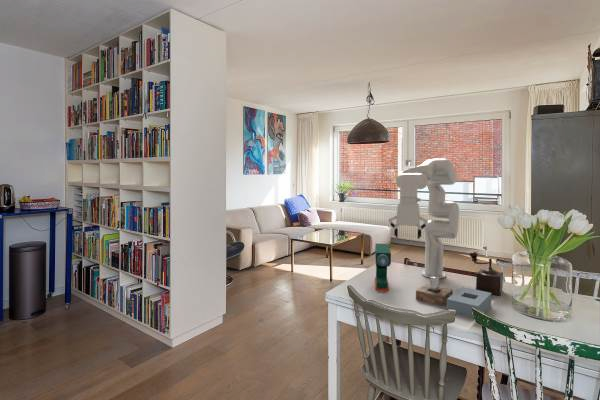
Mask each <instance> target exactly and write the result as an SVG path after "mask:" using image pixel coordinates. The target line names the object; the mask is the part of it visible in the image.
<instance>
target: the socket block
mask: <svg viewBox="0 0 600 400" xmlns="http://www.w3.org/2000/svg"><path fill="white" fill-rule="evenodd" d="M453 291H454V290H453V289H451V288H445V287H443V286H442V287H441V286H439V293H436V292H432V291H430V284H429V283H427V284H424V285H422V286H421V287H420V288H417V289H416V290H415V300H417V301H422V302H425V303H429V304H433V305H436V306H437V305H438V306H441V307H443V306H445V305H447V298H449V297H450V296H451V295H453V294H454V293H453Z"/></svg>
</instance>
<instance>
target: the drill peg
mask: <svg viewBox="0 0 600 400" xmlns="http://www.w3.org/2000/svg"><path fill="white" fill-rule="evenodd" d="M429 282H430V283H429V285H430V291H432V292H436V293H439V287H440V286H439V284H440V278H439V277H437V276H431V277H430V280H429Z"/></svg>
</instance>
